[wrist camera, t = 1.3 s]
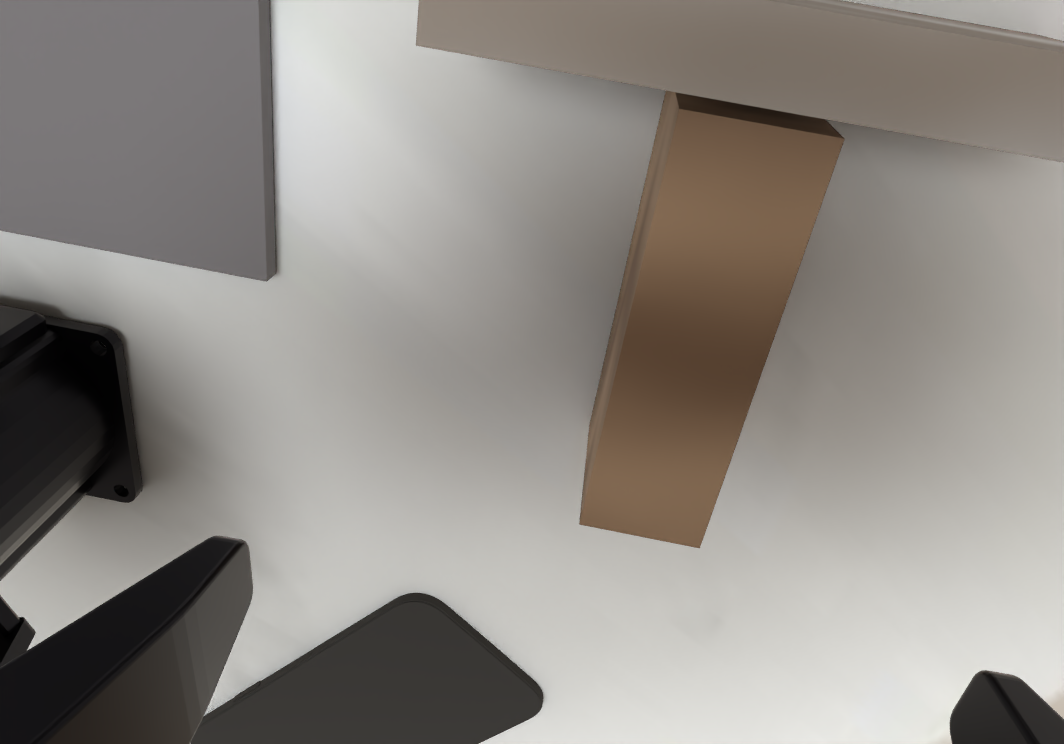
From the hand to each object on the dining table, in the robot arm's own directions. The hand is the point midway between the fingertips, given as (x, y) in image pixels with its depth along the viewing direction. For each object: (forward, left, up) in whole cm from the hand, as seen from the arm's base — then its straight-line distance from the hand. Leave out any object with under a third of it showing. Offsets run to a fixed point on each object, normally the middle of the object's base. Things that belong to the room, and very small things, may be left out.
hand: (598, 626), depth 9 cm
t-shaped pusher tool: (0, -2, -12) cm, 13 cm away
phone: (-21, +6, -13) cm, 26 cm away
